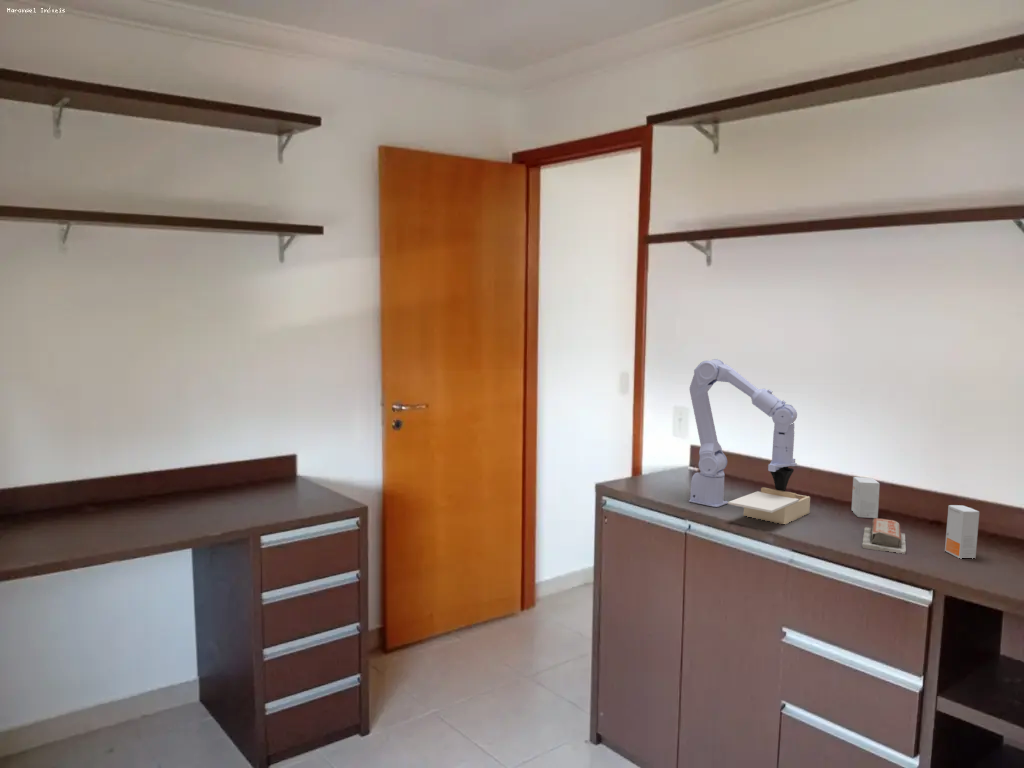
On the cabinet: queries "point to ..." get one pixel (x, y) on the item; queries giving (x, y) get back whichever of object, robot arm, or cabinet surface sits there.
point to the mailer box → (783, 511)
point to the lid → (766, 500)
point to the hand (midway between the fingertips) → (780, 492)
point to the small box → (865, 497)
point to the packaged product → (884, 536)
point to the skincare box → (962, 531)
